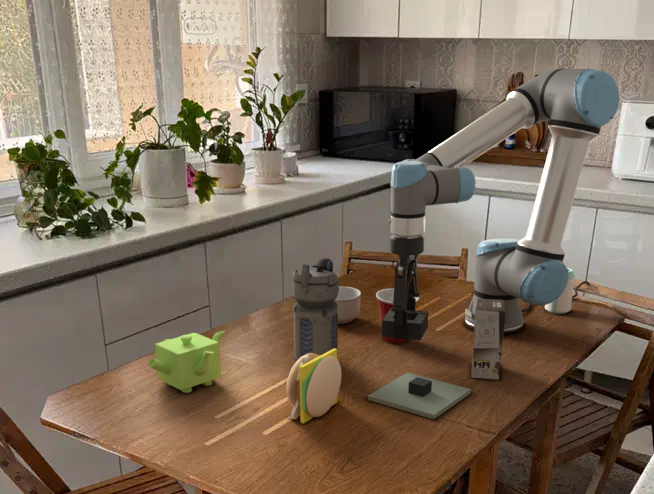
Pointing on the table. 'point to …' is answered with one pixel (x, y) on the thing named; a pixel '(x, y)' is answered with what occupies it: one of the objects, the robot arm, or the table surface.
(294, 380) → the hamburger
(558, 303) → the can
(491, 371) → the coffee box
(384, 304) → the plastic cup
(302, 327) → the beverage bottle
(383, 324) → the dark gray square ring
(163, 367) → the kettle
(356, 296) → the teacup
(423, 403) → the base pad
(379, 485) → the table surface
